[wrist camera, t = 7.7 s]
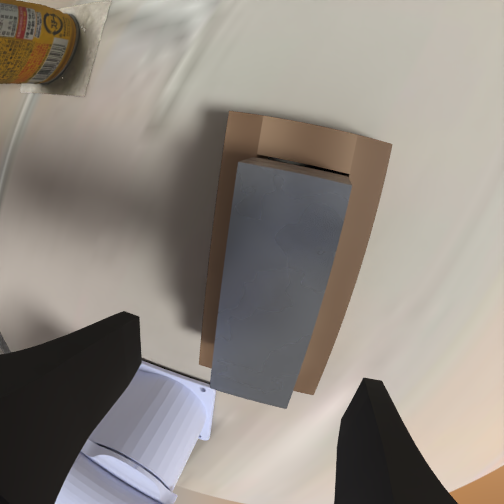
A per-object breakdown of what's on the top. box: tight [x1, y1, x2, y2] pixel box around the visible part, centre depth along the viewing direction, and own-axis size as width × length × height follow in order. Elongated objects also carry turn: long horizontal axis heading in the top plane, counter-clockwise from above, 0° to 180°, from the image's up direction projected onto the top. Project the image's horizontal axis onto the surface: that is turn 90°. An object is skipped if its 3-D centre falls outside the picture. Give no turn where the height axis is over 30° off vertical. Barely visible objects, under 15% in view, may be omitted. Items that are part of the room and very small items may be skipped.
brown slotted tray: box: [199, 111, 392, 395], centre depth 17 cm, size 7×15×3 cm, turn 171°
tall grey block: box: [210, 157, 352, 409], centre depth 16 cm, size 4×11×6 cm, turn 171°
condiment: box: [0, 0, 112, 97], centre depth 12 cm, size 7×8×12 cm
